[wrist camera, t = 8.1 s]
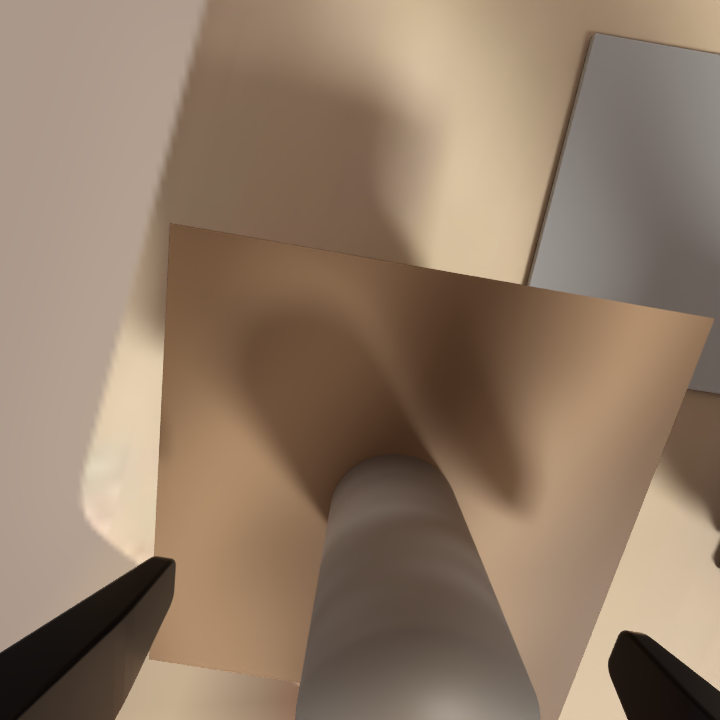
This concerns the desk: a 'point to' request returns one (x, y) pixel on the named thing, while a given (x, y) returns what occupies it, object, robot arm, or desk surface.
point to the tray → (640, 187)
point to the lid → (400, 474)
